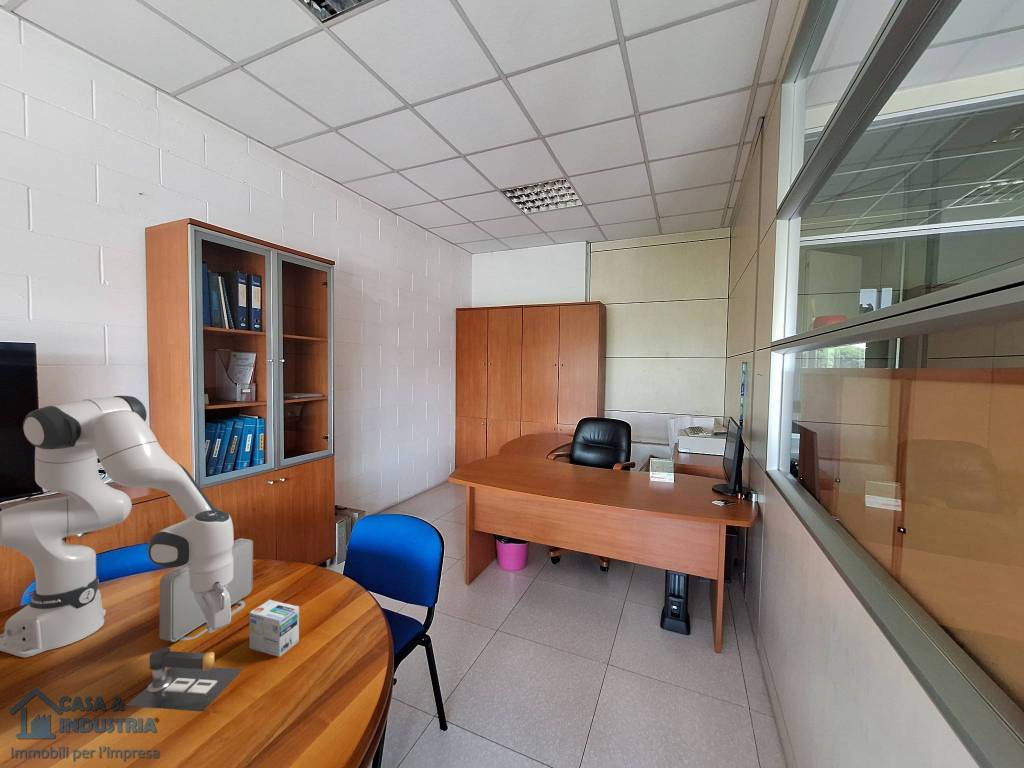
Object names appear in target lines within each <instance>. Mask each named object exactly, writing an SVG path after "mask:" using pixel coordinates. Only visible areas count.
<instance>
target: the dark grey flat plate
mask: <svg viewBox="0 0 1024 768" xmlns="http://www.w3.org/2000/svg"><path fill="white" fill-rule="evenodd" d="M243 670H244V668H230V667H229V668H228V667H217V666H216V667H215V666H214V667H213V668H212V669H211V670H209V671H203V669H192V668H177V667H169V669H167V676H170V677H172V682H171V683H170V684H172V683H173V682H174V681H175V680H176V679H177V678H187V679H195V681H194V682H193V683H192V684H191V685H190V686H189V687H188V688H187V689H186V690H184V691H183V692H182V693H179V692H165V691H164V690H165V689H166V688H167V687H168V686H169V685H170V684H169V685H168V686H167V687H165V688H163V689H161V690H159V691H156V692H149V691H147V687H146V688H145V689H144V690H142V691H141V692H140V693H139V694H138V695H137V696H135V697H134V698H133V699H132V700H131V701H129V702H128V703H127V704H126V705H125V706H126V707H137V708H149V709H150V708H152V709H165V710H178V711H179V710H180V711H181V710H182V711H191V712H192V711H194V712H204V711H206V709H208V707H209V706H210V705H211V704H212V703H213V702H214V701H215V700H216V699H217V698H218V697H219V696H220V694H222V693H223V691H224V690H225V689H227V687H228V686H229V685H230V684H231V683H232V682H233V681H234V680H235V679H236V678H237V677H238V676H239V675H240V674H241V672H242V671H243ZM200 679H201V680H216V681H217V683H216V684H215V685H214V686H213V687H212V688H211V689H210V690H209V691H208V692H207V693H206V694H194V693H187V691H188V690H189V689H190V688H191V687H192V686H193V685H194V684H195V683H196V682H198V681H199V680H200Z"/></svg>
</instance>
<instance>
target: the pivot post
mask: <svg viewBox="0 0 1024 768" xmlns="http://www.w3.org/2000/svg"><path fill="white" fill-rule="evenodd" d="M167 671H168V667H162V668H160V669H157V670H152V672H151V674H152V675H151V677H152V681H151V682H150V683H149V684H148V685H147V687H146V688H147V691H149V692H156V691H159V690H161V689H163V688H165V687H167V686H168V685H169V684H170V683H171V682H172V677H170V676H167Z"/></svg>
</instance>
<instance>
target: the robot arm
mask: <svg viewBox="0 0 1024 768" xmlns="http://www.w3.org/2000/svg"><path fill="white" fill-rule="evenodd" d="M146 421H147V409H146V407H145V405H144V403H143V402H142V401H141V400H139V399H138V398H137V397H134V396H131V395H114V396H107V397H95V398H87V399H82V400H77V401H72V402H71V401H70V402H65V403H61V404H57V405H48V406H44V407H40V408H37V409H35V410H31V411H30V412H28V414H27V415H25V418H24V420H23V423H22V430H23V433H24V437H25V438H26V440H27V441H28V443H29V444H31V445H32V446H33V447H34V448H35V449H34V480H35V483H36V484H37V485H38V486H39V488H42V489H44V490H45V491H49V492H52V493H56V494H61V495H62V494H63V495H66V496H61V497H53V498H49V499H48V498H47V499H41V500H36V501H29V502H24V503H21V504H18V505H14V506H10V507H7V508H4V509H2V510H0V546H1V547H4V548H8V549H12V550H15V551H16V552H19V553H21V554H22V555H24V556H25V557H26V558H27V559H28V560H29V561H30V562H31V564H32V567H33V570H34V576H35V589H34V590H32V591H29V592H27V593H26V595H27V596H26V598H30V597H31V599H30V602H29V604H27V605H26V606H25V607H23V608H22V609H20V610H18V611H17V612H16V613H15V614H13V615H11V616H10V617H9V618H8V619H7V620H6V621H5V625H4V629H3V630H4V632H3V633H2V634H0V651H1V652H4V653H7V654H11V655H14V656H16V657H19V658H22V659H23V658H29V657H32V656H36V655H38V654H41V653H43V652H47V651H51V650H54V649H58V648H62V647H64V646H68V645H70V644H74V643H75V642H78V641H80V640H82V639H85V638H86V637H89V636H90V635H92V634H94V633H95V632H97V631H98V630H100V628H102V626H103V625H104V624H105V622H106V621H105V618H104V617H105V616H106V613H107V611H106V609H105V608H103V603H102V602H103V601H102V596H101V591H100V589H99V583H100V580H99V576H98V575H97V553H96V551H95V549H94V548H92V547H89V546H87V545H84V544H83V545H82V544H75V543H67V542H65V541H64V540H63V539H65V538H67V537H70V536H75V535H81V534H85V533H89V532H96V531H100V530H104V529H106V528H109V527H113V526H116V525H118V524H121V523H123V522H124V521H125V520H126V519H127V518H128V516H129V515H130V513H131V511H132V507H133V506H132V505H133V504H132V500H131V497H130V496H129V495H128V494H127V493H126V492H124V491H123V490H119V489H116V488H114V487H112V486H110V485H108V484H107V483H105V481H104V480H103V479H102V478H101V475H100V473H99V464H98V463H99V462H100V464H101V466H102V468H103V470H104V472H105V474H106V475H107V477H109V479H111V480H112V481H113V483H116V484H118V485H119V486H124V487H127V488H128V487H129V488H141V489H142V488H146V489H156V490H160V491H163V492H165V493H167V494H168V495H169V496H171V498H172V499H173V501H174V502H175V503H176V505H177V506H178V507H179V509H180V511H182V513H183V514H184V515H185V518H186V519H185V520H183V521H181V522H177V523H175V524H172V525H170V526H168V527H166V528H163V529H161V530H160V531H158V532H156V533H155V534H153V535H152V536H151V538H150V539H149V541H148V544H147V548H146V550H147V551H146V553H147V556H148V559H149V561H150V562H151V563H152V564H153V565H155V566H157V567H159V568H162V569H163V568H164V569H168V568H175V567H176V568H178V567H181V566H183V565H185V564H187V565H189V566H190V569H189V580H190V590H191V591H194V597H195V600H196V601H197V603H198V605H199V607H200V608H201V610H202V612H203V614H204V615H205V619H206V623H205V629H208V630H207V631H208V633H209V634H212V633H214V632H217V631H218V630H220V629H223V628H226V627H228V626H229V625H230V624H231V621H232V616H231V612H232V608H231V607H232V605H231V602H230V595H229V593H228V591H227V590H226V587H227V585H228V583H229V582H231V581H232V579H233V576H234V559H233V555H232V547H233V544H234V541H235V540H234V538H235V537H234V525H233V520H232V517H231V515H230V514H229V513H228V512H227V511H224V510H220V509H217V508H216V507H215V506H214V505H213V504H212V503H211V502H212V501H210V500H209V498H208V497H207V495H206V494H205V493H204V491H203V490H202V489H201V488H200V485H199V484H198V483H197V482H196V480H195V479H194V478H193V476H192V475H191V474H190V472H189V471H188V470H187V469H186V468H185V467H184V466H183V465H182V464H180V463H178V462H176V461H175V460H173V459H172V458H171V457H170V456H169V455H168V454H167V453H166V452H165V451H164V449H163V448H162V447H161V445H160V443H159V440H158V439H157V438H156V436H155V434H154V432H153V431H152V429H151V428H150V426H149V425H148V424H147V423H146ZM98 460H99V462H98Z"/></svg>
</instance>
